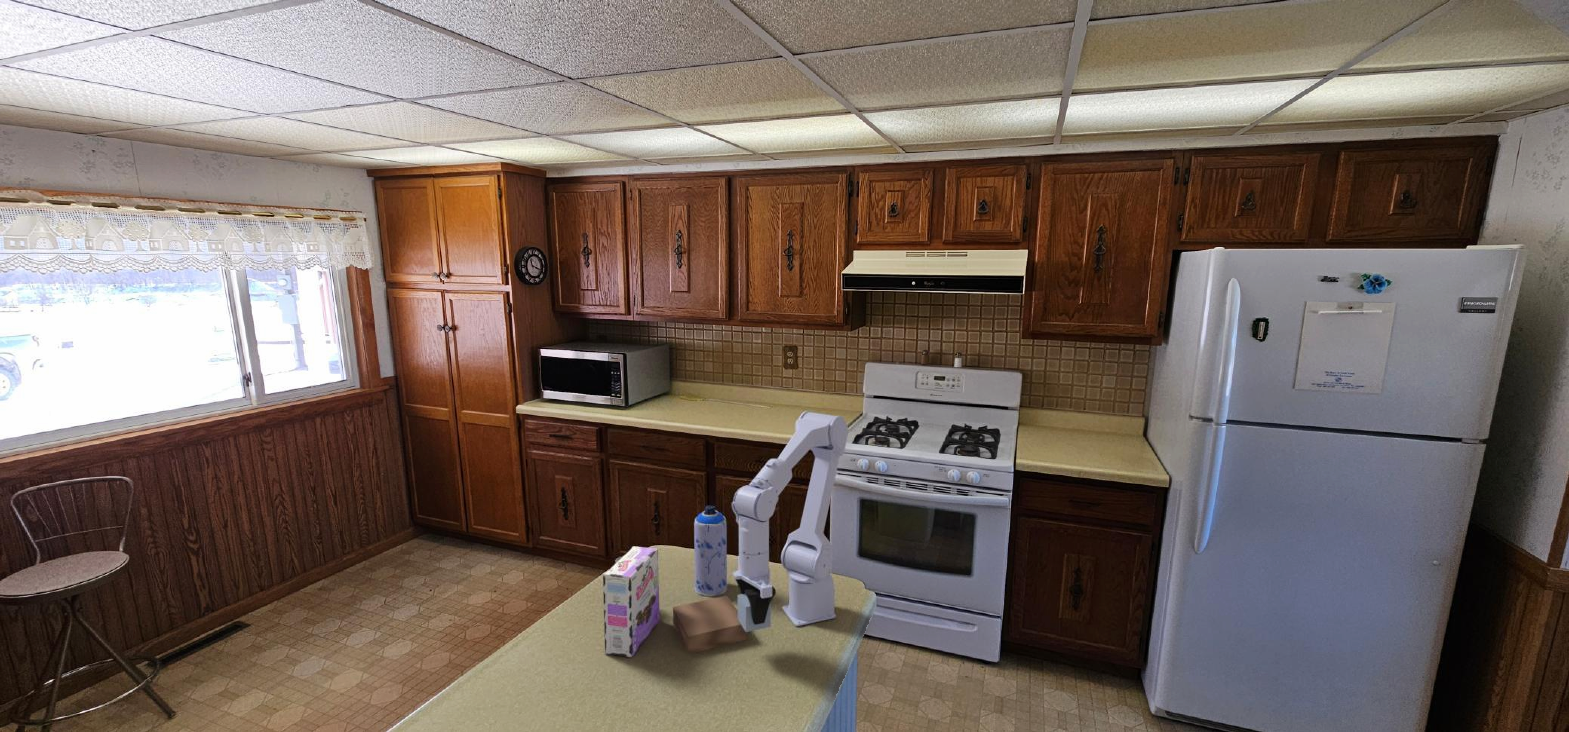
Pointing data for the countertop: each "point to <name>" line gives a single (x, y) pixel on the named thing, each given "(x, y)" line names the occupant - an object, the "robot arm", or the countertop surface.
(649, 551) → the candy box
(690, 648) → the walnut slab
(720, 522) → the aerosol can
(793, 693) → the countertop surface
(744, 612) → the slate cube
